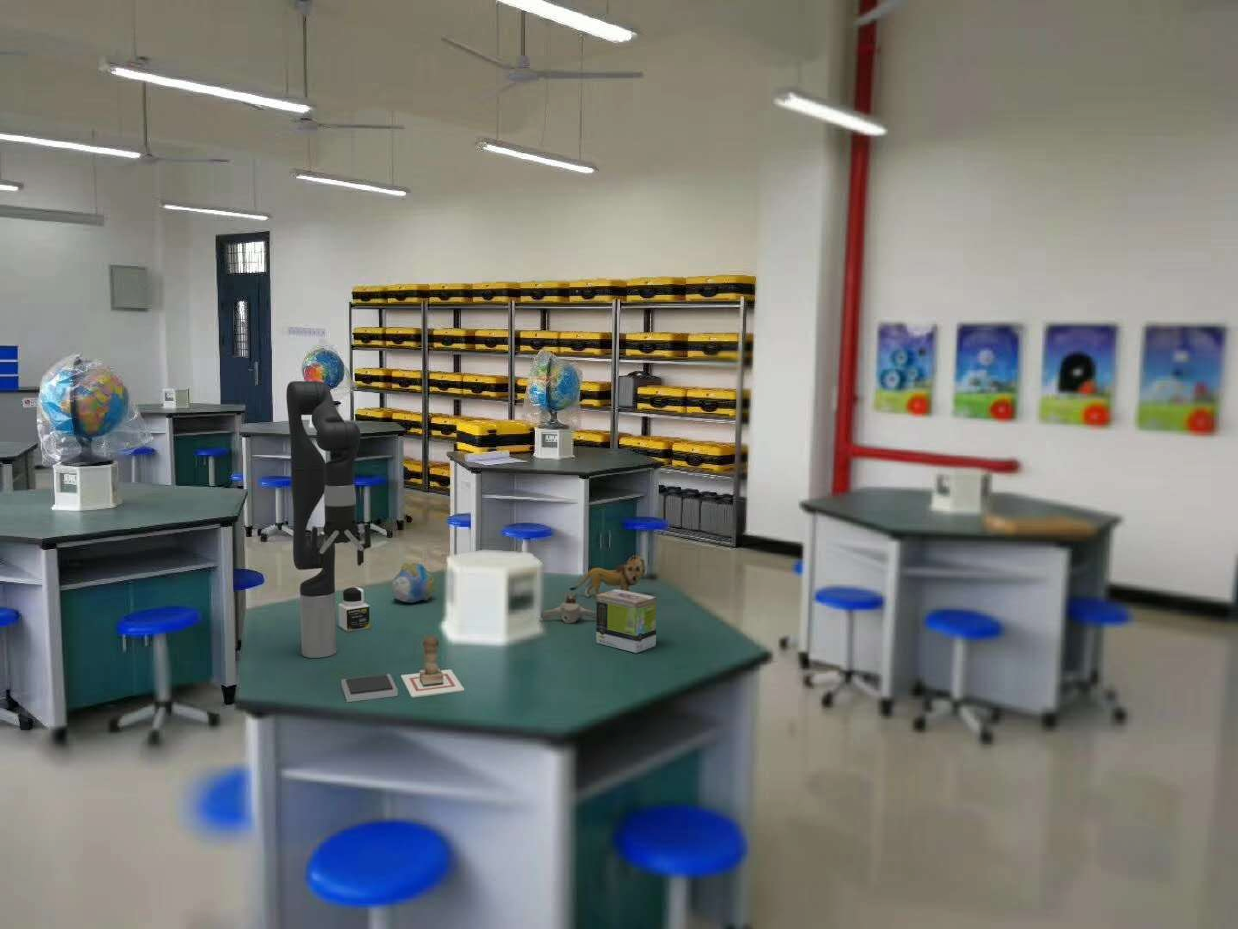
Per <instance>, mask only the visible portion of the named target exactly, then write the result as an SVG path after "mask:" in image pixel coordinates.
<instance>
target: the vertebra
mask: <svg viewBox="0 0 1238 929" xmlns="http://www.w3.org/2000/svg"><path fill="white" fill-rule="evenodd" d="M563 598H564V602H561V603H560V606H557V607H555V608H552V609H549V610H542V611H541V610H540V611H541V618H542V619H544V620H546V619H547V618H550V617H554V616H558V617H559V618H561V619H562V621H563V622H564V623H566V624H574V623H576V622H577V621H578V620H579V619H580V617H582V616H585V617H589V618H592V619H594V620H596V610H589V609H587V608H584V607H582V606H581V604H578V602H577V599H578V593H574V594H573V593H571V592H568V594H567V593H564V594H563Z"/></svg>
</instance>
